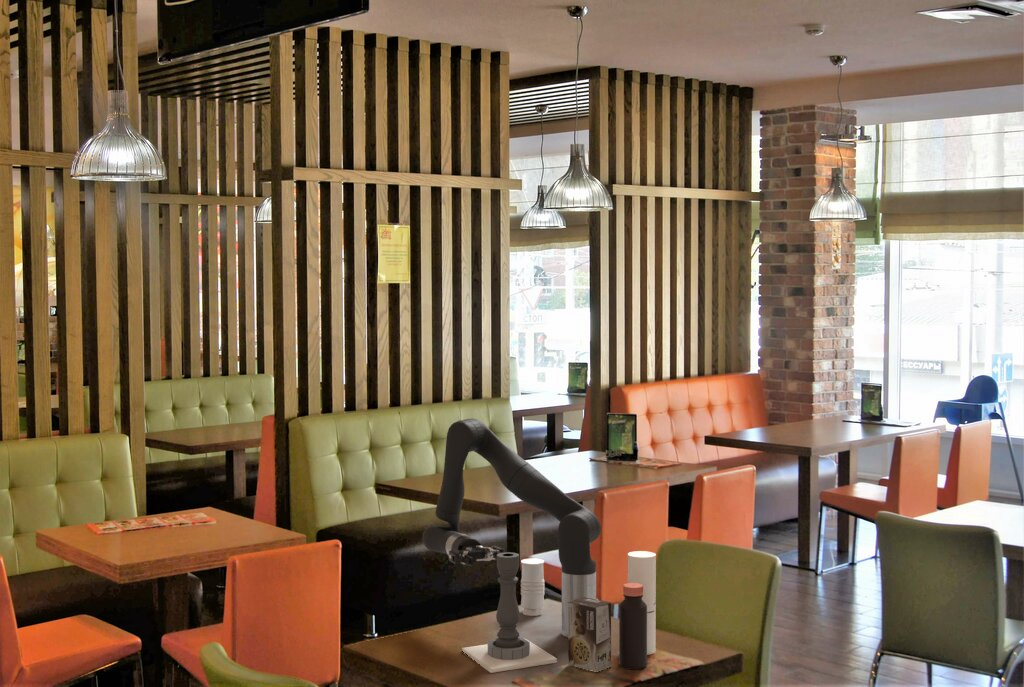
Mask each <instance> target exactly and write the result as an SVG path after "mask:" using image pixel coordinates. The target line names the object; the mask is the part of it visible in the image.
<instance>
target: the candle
mask: <svg viewBox="0 0 1024 687" xmlns="http://www.w3.org/2000/svg"><path fill="white" fill-rule="evenodd" d="M520 564H521V579H520V595H521V601H520V606H521V607H522V609H523V610H522V614H523V615H525V616H530V617H534V616H541V615H542V614H544V612H543V608H544V607H545V599H544V598H545V597H544V596H545V590H546V589H545V586H546V584H545V579H544V564H545V560H544V559H540V558H533V557H532V558H523V559H521V561H520Z"/></svg>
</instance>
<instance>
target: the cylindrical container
mask: <svg viewBox="0 0 1024 687" xmlns="http://www.w3.org/2000/svg"><path fill="white" fill-rule="evenodd" d="M656 561H657V554H656V553H655V552H652V551H646V550H637V551H636V550H635V551H630V552H627V583H639V584H642V585H643V597H642V600H643V601H644V603H645V604H646V605H647V656H649V655H652V654H655V653H656V650H657V649H656V641H657V640H656V633H657V632H656V630H657V627H656V625H657V624H656V622H657V619H656V616H657V615H656V613H657V611H656V608H657V607H656V604H657V603H656V601H657V597H656V595H657V593H656V591H657V581H656V580H657V578H656V577H657V576H656V575H657V562H656Z"/></svg>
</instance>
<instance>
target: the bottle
mask: <svg viewBox="0 0 1024 687" xmlns="http://www.w3.org/2000/svg"><path fill="white" fill-rule="evenodd" d="M622 587H623V588H622V589H623V590H622V592H623V597H624V599H623V600H622V602H620V603H619V606H618V609H619V610H618V612H619V622H618V623H619V624H618V626H619V628H618V630H619V631H618V632H619V634H618V635H619V637H618V638H619V642H618V643H619V648H618V649H619V654H618V655H619V656H618V657H619V660H618V661H619V662H618V663H619V666H620V667H621V668H623V667H624V668H623V669H627V668H628V670H641V668H642V669H644V668H646V667H647V665H648V655H647V605H646V604H645V603H644V601H643V600H642V597H643V585H642V584H639V583H628V582H627V583H623V585H622Z"/></svg>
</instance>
